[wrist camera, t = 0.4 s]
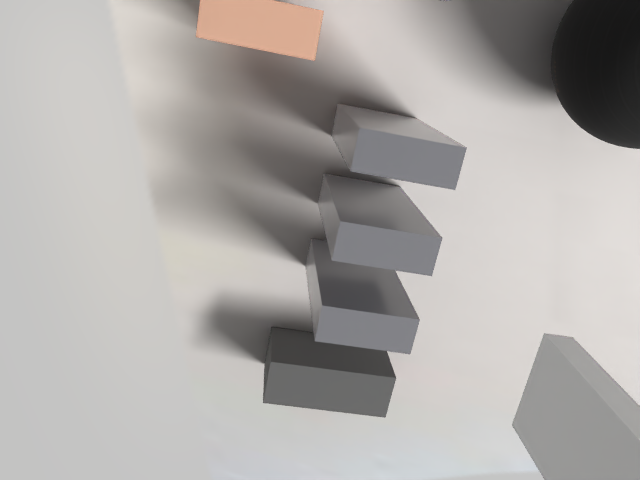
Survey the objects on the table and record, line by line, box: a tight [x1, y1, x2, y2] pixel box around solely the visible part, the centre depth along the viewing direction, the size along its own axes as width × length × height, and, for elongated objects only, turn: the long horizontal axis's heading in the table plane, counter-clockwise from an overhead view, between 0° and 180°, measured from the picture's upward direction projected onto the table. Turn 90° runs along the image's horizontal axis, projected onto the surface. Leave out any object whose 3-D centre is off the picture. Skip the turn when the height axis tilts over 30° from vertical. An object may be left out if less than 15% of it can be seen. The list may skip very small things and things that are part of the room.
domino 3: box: [318, 173, 442, 276], centre depth 32 cm, size 2×5×10 cm, turn 79°
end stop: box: [263, 327, 396, 417], centre depth 38 cm, size 3×8×4 cm, turn 79°
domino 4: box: [306, 238, 420, 354], centre depth 33 cm, size 2×5×10 cm, turn 79°
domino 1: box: [196, 0, 324, 61], centre depth 28 cm, size 2×5×10 cm, turn 79°
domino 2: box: [331, 103, 467, 190], centre depth 31 cm, size 2×5×10 cm, turn 79°
